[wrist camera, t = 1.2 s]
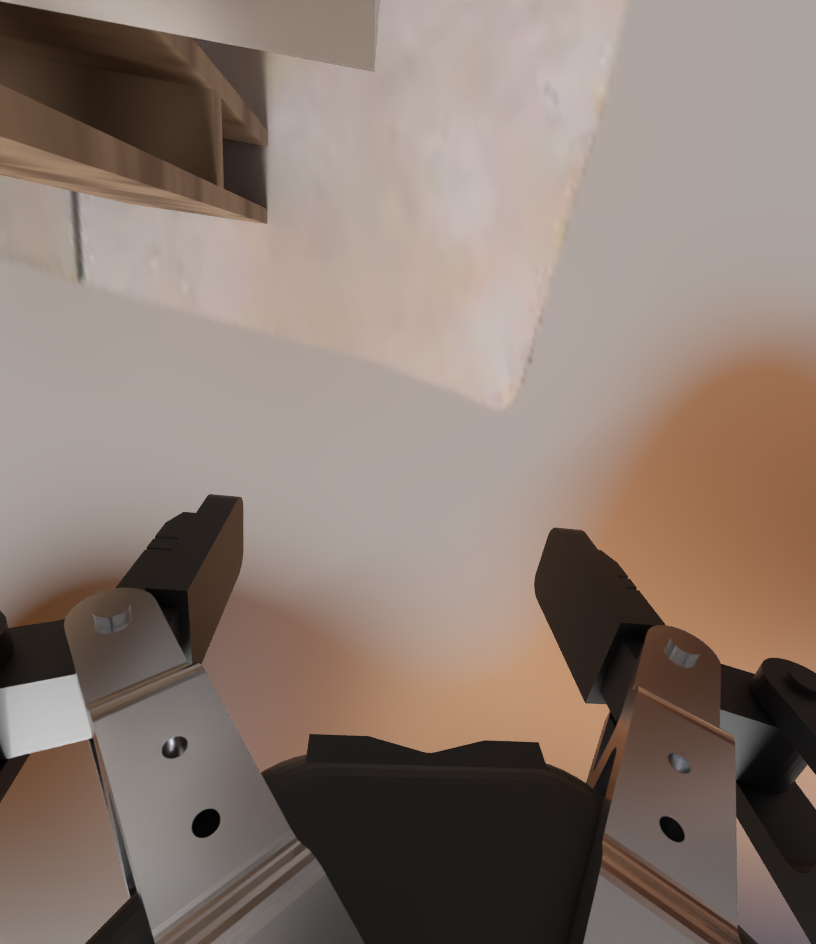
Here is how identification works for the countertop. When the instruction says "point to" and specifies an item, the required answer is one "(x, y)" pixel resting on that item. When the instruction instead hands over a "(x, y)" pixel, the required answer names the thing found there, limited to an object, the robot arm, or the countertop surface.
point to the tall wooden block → (119, 113)
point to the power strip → (249, 23)
